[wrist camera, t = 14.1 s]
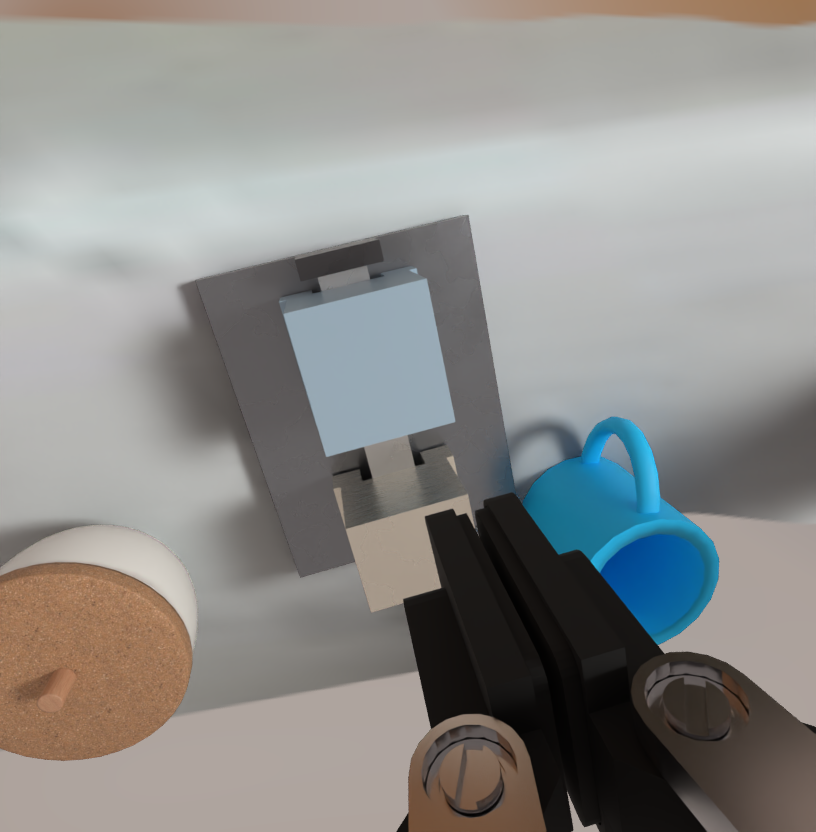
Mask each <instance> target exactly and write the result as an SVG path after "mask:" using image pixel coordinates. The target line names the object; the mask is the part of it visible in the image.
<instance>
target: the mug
mask: <svg viewBox="0 0 816 832" xmlns="http://www.w3.org/2000/svg"><path fill="white" fill-rule="evenodd" d="M612 434H616V435H617V436H618V437H619V438H620V439H621V440H622V441H623V443H624V445H625V447H626V450H627V452H628V454H629V456H630V460H631V464H632V468H633V472H634V476H635V477H634V476H632V475H631V474H630V473H629V472H627V471H626V470H625V469H623V468H622V467H621V466H620V465H618V464H617V463H614V462H612V461H610V460H608V459H605V458H603V457H601V453H602V450H603V448H604V445H605V443H606V441H607V440H608V438H609V437H610V436H611V435H612ZM522 505H523V506H524V508H525V509H526V510H527V512H528V513H529V514H530V516H531V517H532V519H533V520H534V521H535V523H536V524H537V526H538V527H539V528H540V530H541V531H542V533H543V534H544V535H545V537H546V538H547V539H548V541H549V542H550V544H551V545H552V546H553V548H554V549H555V551H556V552H557V553H558V555H559V554H562V553H566V552H569V551H573V550H576V549H577V550H580V551H582V552H583V553H584V554H585V555H586V556H587V558H588V559H589V560H590V561H591V563H592V564H593V565H594V566H595V568H596V569H597V570H598V571H599V573H600V574H601V575H602V576H603V578H604V579H605V580H606V581H607V583H608V584H609V585H610V586H611V588H612V589H613V590H614V591H615V593H616V594H617V595H618V596H619V598H620V599H621V600H622V601H623V603H624V604H625V605H626V606H627V608H628V609H629V610H630V611H631V613H632V614H633V615H634V616H635V618H636V619H637V620H638V621H639V623H640V624H641V625H642V626H643V628H644V629H645V630H646V631H647V633H648V634H649V635H650V636H651V638H652V639H653V640H654V641H655V643H656V644H657V645H659V644H661V643H663V642H665V641H667V640H669V639H671V638H672V637H674V636H676V635H678V634H680V633H681V632H682V631H683V630H684V629H686V628H687V627H688V626H689V625H690V624H691V623H692V622H694V621H695V620H696V619H697V618H698V617H699V615H700V614H701V612H702V611H703V609H704V608H705V607H706V605H707V604H708V602H709V601H710V600H711V598H712V595H713V592H714V589H715V587H716V584H717V581H718V574H719V557H718V555H717V552H716V549H715V546H714V543H713V541H712V540H711V539H710V538H709V537H708V536H707V535H706V534H705V533H704V532H703V531H702V529H701V528H699V527H698V526H697V525H696V524H694V523H693V522H692V521H690V520H689V519H688V518H687V517H685V516H684V515H683V514H681V513H680V512H679V511H677V510H676V509H675V508H674V507H672V506H671V505H670V504H668V503H667V502H666V501H665V500H663V499H662V498H661V497H660V490H659V479H658V472H657V468H656V464H655V460H654V457H653V453H652V450H651V448H650V446H649V444H648V442H647V440H646V438H645V436H644V434H643V432H642V431H641V430H640V429H639V428H638V427H637V426H636V425H635V424H634V423H633V422H631V421H630V420H627V419H623V418H619V417H610V418H608V419H606V420H604V421H602V422H600V423H598V424H597V425H596V426H595V427H594V429H593V430H592V431H591V433H590V434H589V436H588V437H587V440H586V443H585V446H584V448H583V451H582V455H581V456H580V457H576V458H572V459H567V460H564V461H562V462H561V463H559V464H557V465H555V466H553V467H552V468H550V469H548V470H547V471H546V472H545V473H544V474H543V475H542V476H541V477H540V478H538V479H537V480H536V481H535V482H534V483H533V485H532V486H531V488H530V490H529V492H528V493H527V495H526V497H525V498H524V500H523V504H522Z"/></svg>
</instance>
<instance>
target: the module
mask: <svg viewBox="0 0 816 832" xmlns="http://www.w3.org/2000/svg"><path fill="white" fill-rule="evenodd" d="M279 304H280V307H281V311H282V314H283V317H284V321H285V324H286V327H287V331H288V334H289V337H290V341H291V344H292V347H293V351H294V354H295V357H296V360H297V364H298V367H299V370H300V374H301V377H302V380H303V384H304V387H305V390H306V394H307V397H308V400H309V404H310V407H311V410H312V414H313V417H314V420H315V424H316V425H317V428H318V431H319V434H320V438H321V441H322V444H323V448H324V451H325V454H326V457H328V456H332V455H336V454H339V453H343V452H347V451H350V450H354V449H358V448H361V447H365V446H369V445H372V444H376V443H380V442H384V441H387V440H391V439H395V438H398V437H402V436H406V435H409V434H413V433H417V432H420V431H424V430H428V429H432V428H435V427H439V426H443V425H446V424H450V423H454V422H455V417H454V412H453V407H452V402H451V397H450V392H449V387H448V382H447V377H446V372H445V367H444V362H443V357H442V352H441V347H440V342H439V337H438V332H437V327H436V322H435V317H434V312H433V307H432V302H431V297H430V292H429V287H428V282H427V278H425V277H422V276H420V275H418V273H417V268H415V267H413V266H408V267H404V268H399V269H395V270H391V271H387V272H383V273H381V277H378V278H374V279H370V280H366V281H362V282H358V283H354V284H350V285H346V286H341V287H337V288H333V289H329V290H325V291H321V292H317V293H312V290H309V291H305V292H301V293H297V294H293V295H289V296H285V297H281V298H280V300H279Z"/></svg>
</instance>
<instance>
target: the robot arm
mask: <svg viewBox="0 0 816 832" xmlns="http://www.w3.org/2000/svg"><path fill="white" fill-rule="evenodd" d="M483 506H484V508H482V509H479V510H475V518H476V523H477V528H478V533H479V536H478V534H477V532H476V530H475V528H474V526H473V524H472V522H471V520H470V518H469V516H468V515H467V513H464V514H461V515H456V513H455V511H454V509H449V510H445V511H442V512H438V513H434V514H431V515H427V516H425V522H426V526H427V531H428V535H429V539H430V543H431V547H432V551H433V555H434V559H435V563H436V568H437V572H438V576H439V580H440V584H441V588H440V589H436V590H433V591H429V592H425V593H422V594H418V595H415V596H411V597H408V598H404V599H403V602H404V607H405V612H406V616H407V621H408V625H409V630H410V635H411V639H412V644H413V648H414V653H415V657H416V662H417V667H418V671H419V676H420V680H421V685H422V689H423V694H424V699H425V703H426V707H427V712H428V717H429V721H430V726H431V730H430V731H429V732H428V733H427V734H426V735H425V737H424V738H423V739H422V740H421V741H420V742H419V744H418V746H417V748H416V750H415V752H414V754H413V756H412V758H411V763H410V770H409V777H408V783H409V784H408V791H409V793H408V801H409V803H408V804H409V805H408V806H409V809H408V810H409V813H408V814H407V816H406V817H405V819H404V821H403V822H402V824H401V825H400V827H399V828H398V830H397V832H571V831H573V824H572V818H571V813H570V806H569V801H568V795H567V792H568V794H569V796H570V798H571V801H572V803H573V805H574V808H575V810H576V812H577V814H578V817H579V819H580V821H581V822H582V825H583V826H584V827H587V826H590V825H593V824H596V825H597V827H598V829H599V831H600V832H816V727H814V726H811V725H808V724H805V723H802V722H800V721H799V720H798V719H797V718H796V717H794V716H793V715H792V714H791V713H789V712H788V711H787V710H786V709H785V708H784V707H782V706H781V705H780V704H779V703H778V702H777V701H775V700H774V699H773V698H772V697H770V696H769V695H768V694H767V693H766V692H765V691H763V690H762V689H761V688H760V687H759V686H757V685H756V684H755V683H754V682H753V681H752V680H750V679H749V678H748V677H747V676H745V675H744V674H743V673H741V672H740V671H738V670H737V669H735V668H734V667H732V666H731V665H729V664H728V663H726V662H724V661H721V660H719V659H716V658H714V657H711V656H709V655H704V654H698V653H693V652H669V653H666V654H664V653H663V651H662V650H661V649H660V648H659V646H658V645H657V644H656V643H655V641H654V640H653V639H652V638H651V636H650V635H649V634H648V633H647V631H646V630H645V629H644V628H643V626H642V625H641V624H640V623H639V621H638V620H637V619H636V618H635V616H634V615H633V614H632V613H631V611H630V610H629V609H628V608H627V606H626V605H625V604H624V603H623V601H622V600H621V599H620V598H619V596H618V595H617V594H616V593H615V591H614V590H613V589H612V588H611V586H610V585H609V584H608V583H607V581H606V580H605V579H604V578H603V576H602V575H601V574H600V573H599V571H598V570H597V569H596V568H595V566H594V565H593V564H592V563H591V561H590V560H589V559H588V558H587V556H586V555H585V554H584V553H583V552H582V551H580V550H577V549H576V550H573V551H569V552H566V553H562V554H559V555H558V553H557V552H556V551H555V549H554V548H553V546H552V545H551V544H550V542H549V541H548V539H547V538H546V537H545V535H544V534H543V533H542V531H541V530H540V528H539V527H538V526H537V524H536V523H535V521H534V520H533V519H532V517H531V516H530V514H529V513H528V512H527V510H526V509H525V508H524V506H523V505H522V503H521V502H520V501H519V499H518V498H517V496H516V495H515V494H514V493H513V492H511V493H507V494H503V495H500V496H496V497H492V498H489V499H485V500H484V501H483Z"/></svg>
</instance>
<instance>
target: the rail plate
mask: <svg viewBox="0 0 816 832" xmlns="http://www.w3.org/2000/svg"><path fill="white" fill-rule="evenodd" d="M408 266H413V267H415V268H417V273H418V275H420V276H422V277H425V278H427V282H428V287H429V292H430V297H431V302H432V307H433V312H434V317H435V322H436V327H437V332H438V337H439V342H440V347H441V352H442V357H443V362H444V367H445V372H446V377H447V382H448V387H449V392H450V397H451V402H452V407H453V412H454V417H455V422H454V423H450V424H446V425H443V426H439V427H435V428H432V429H428V430H424V431H420V432H417V433H413V434H409V435H406V436H402V437H398V438H395V439H391V440H387V441H384V442H380V443H376V444H372V445H369V446H365V447H361V448H358V449H354V450H350V451H347V452H343V453H339V454H336V455H332V456H328V457H326V454H325V451H324V448H323V444H322V441H321V438H320V434H319V431H318V428H317V425H316V424H315V420H314V417H313V414H312V410H311V407H310V404H309V400H308V397H307V394H306V390H305V387H304V384H303V380H302V377H301V374H300V370H299V367H298V364H297V360H296V357H295V354H294V351H293V347H292V344H291V341H290V337H289V334H288V331H287V327H286V324H285V321H284V317H283V314H282V311H281V307H280V304H279V300H280V298H281V297H285V296H289V295H293V294H297V293H301V292H305V291H309V290H312V293H317V292H321V291H325V290H329V289H333V288H337V287H341V286H346V285H350V284H354V283H358V282H362V281H366V280H370V279H374V278H378V277H381V273H383V272H387V271H391V270H395V269H399V268H404V267H408ZM195 282H196V284H197V287H198V290H199V293H200V296H201V299H202V301H203V304H204V307H205V310H206V313H207V315H208V318H209V321H210V324H211V327H212V330H213V332H214V335H215V338H216V341H217V344H218V347H219V349H220V352H221V355H222V358H223V361H224V364H225V366H226V369H227V372H228V375H229V378H230V380H231V383H232V386H233V389H234V392H235V395H236V397H237V400H238V403H239V406H240V409H241V412H242V414H243V417H244V420H245V423H246V426H247V429H248V431H249V434H250V437H251V440H252V443H253V446H254V448H255V451H256V454H257V457H258V460H259V462H260V465H261V468H262V471H263V474H264V477H265V479H266V482H267V485H268V488H269V491H270V494H271V496H272V499H273V502H274V505H275V508H276V511H277V513H278V516H279V519H280V522H281V525H282V527H283V530H284V533H285V536H286V539H287V542H288V544H289V547H290V550H291V553H292V556H293V559H294V561H295V564H296V567H297V570H298V573H299V576H300V578H301V577H304V576H307V575H311V574H314V573H318V572H321V571H325V570H328V569H331V568H335V567H338V566H342V565H345V564H349V563H352V562H356V565H357V568H358V571H359V574H360V578H361V581H362V584H363V587H364V591H365V594H366V597H367V601H368V604H369V607H370V610H371V613H372V612H375V611H379V610H382V609H385V608H389V607H392V606H395V605H399V604H402V603H404V602H403V599H404V598H408V597H411V596H415V595H418V594H422V593H425V592H429V591H433V590H436V589H440V588H441V584H440V580H439V576H438V572H437V568H436V563H435V559H434V555H433V551H432V547H431V543H430V539H429V535H428V531H427V526H426V522H425V516H427V515H431V514H434V513H438V512H442V511H445V510H449V509H454V511H455V513H456V515H461V514H464V513H467V515H468V516H469V518H470V520H471V522H472V524H473V526H474V528H475V527H476V526H477V523H476V518H475V510H479V509H482V508H484V506H483V501H484V500H485V499H489V498H492V497H496V496H500V495H503V494H507V493H511V492H513V493H514V494H515V495H516V493H515V487H514V481H513V475H512V469H511V463H510V458H509V452H508V446H507V440H506V434H505V428H504V422H503V416H502V410H501V405H500V399H499V393H498V387H497V381H496V375H495V369H494V363H493V357H492V351H491V346H490V340H489V334H488V328H487V322H486V316H485V310H484V304H483V298H482V293H481V287H480V281H479V275H478V269H477V263H476V257H475V251H474V245H473V239H472V234H471V228H470V222H469V216H468V215H462V216H458V217H454V218H450V219H446V220H442V221H438V222H433V223H429V224H425V225H421V226H417V227H413V228H409V229H404V230H400V231H396V232H392V233H388V234H384V235H380V236H375V237H371V238H367V239H363V240H359V241H355V242H351V243H346V244H342V245H338V246H334V247H330V248H326V249H322V250H317V251H313V252H309V253H305V254H301V255H297V256H293V257H288V258H284V259H280V260H276V261H272V262H268V263H264V264H259V265H255V266H251V267H247V268H243V269H239V270H235V271H230V272H226V273H222V274H218V275H214V276H210V277H206V278H201V279H198V280H196V281H195Z"/></svg>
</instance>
